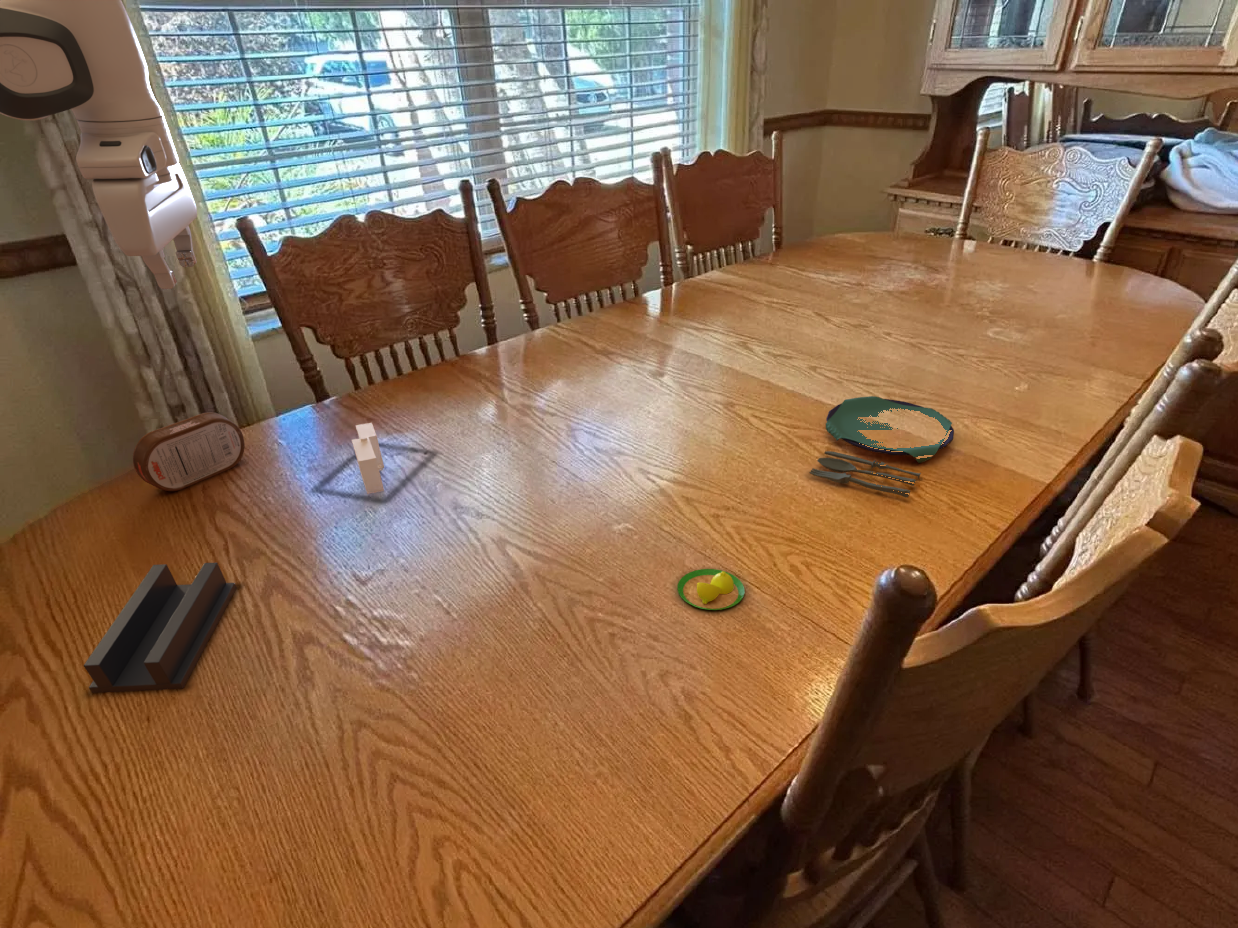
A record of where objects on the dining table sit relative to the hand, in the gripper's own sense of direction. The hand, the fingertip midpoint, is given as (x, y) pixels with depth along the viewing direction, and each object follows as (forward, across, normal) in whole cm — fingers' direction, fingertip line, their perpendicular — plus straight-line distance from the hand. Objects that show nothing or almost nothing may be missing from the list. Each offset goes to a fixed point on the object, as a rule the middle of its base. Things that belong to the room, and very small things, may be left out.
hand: (179, 276), depth 95 cm
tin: (+26, +5, -5) cm, 27 cm away
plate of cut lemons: (+26, +44, +61) cm, 79 cm away
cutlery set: (+26, +12, +96) cm, 101 cm away
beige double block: (+26, +7, +20) cm, 33 cm away
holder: (+26, +41, 0) cm, 49 cm away
